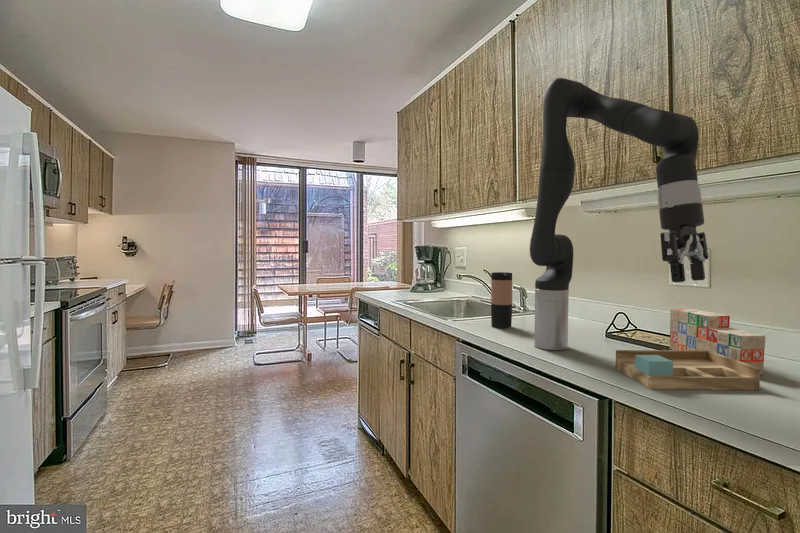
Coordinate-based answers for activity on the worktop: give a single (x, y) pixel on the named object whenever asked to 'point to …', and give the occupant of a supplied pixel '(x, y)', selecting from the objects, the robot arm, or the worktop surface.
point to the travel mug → (501, 300)
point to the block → (654, 365)
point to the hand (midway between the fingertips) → (688, 281)
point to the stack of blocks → (715, 336)
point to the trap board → (692, 370)
